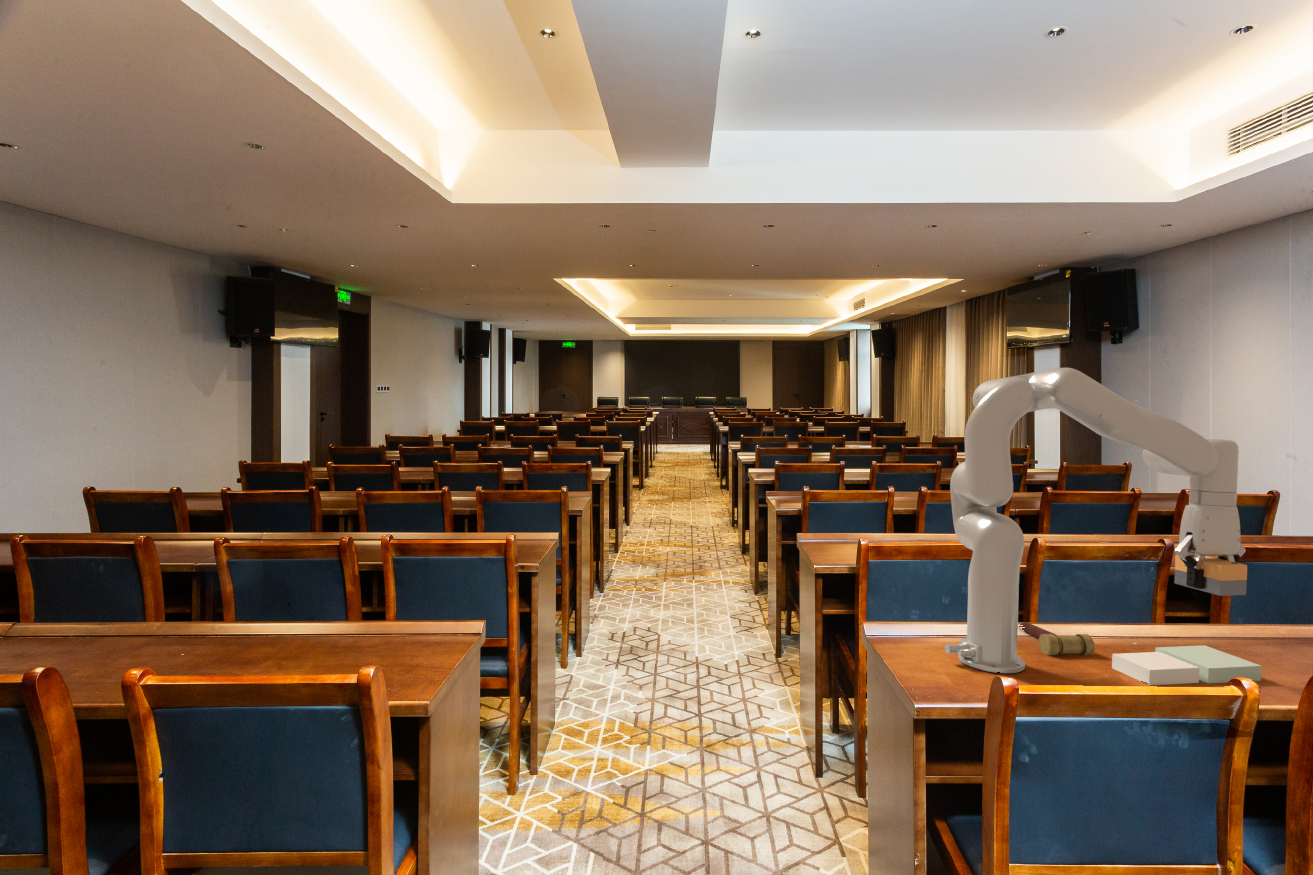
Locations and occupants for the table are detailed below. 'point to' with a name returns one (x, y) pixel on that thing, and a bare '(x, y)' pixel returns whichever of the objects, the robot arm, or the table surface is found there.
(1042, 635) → the gavel
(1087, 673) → the table surface
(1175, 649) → the stand
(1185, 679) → the stand
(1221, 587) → the housing base
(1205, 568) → the housing cover
